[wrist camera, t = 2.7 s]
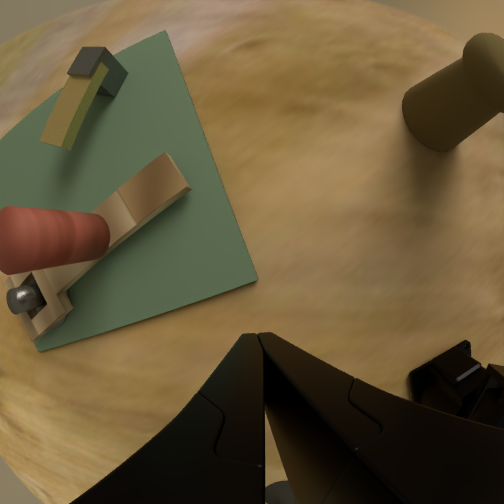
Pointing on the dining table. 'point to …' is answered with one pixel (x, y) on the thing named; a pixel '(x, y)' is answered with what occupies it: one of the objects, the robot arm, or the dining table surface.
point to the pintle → (29, 300)
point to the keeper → (82, 94)
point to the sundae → (279, 493)
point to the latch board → (115, 175)
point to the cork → (458, 95)
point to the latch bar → (79, 237)
